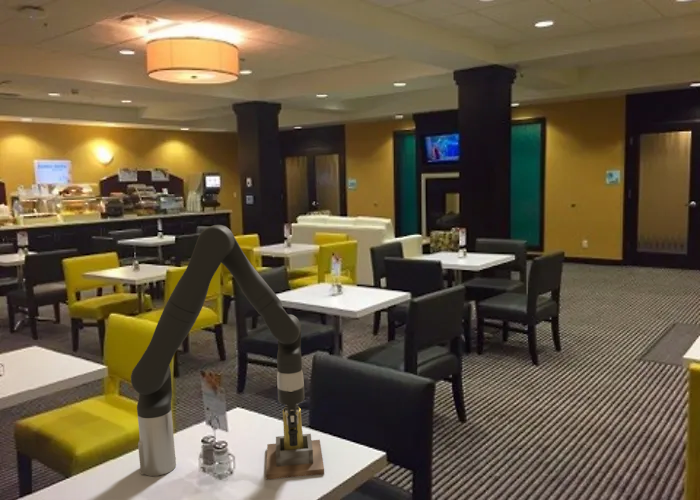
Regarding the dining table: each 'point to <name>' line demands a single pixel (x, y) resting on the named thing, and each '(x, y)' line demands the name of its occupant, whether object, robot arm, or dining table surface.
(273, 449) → the dock
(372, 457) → the dining table surface
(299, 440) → the vase
